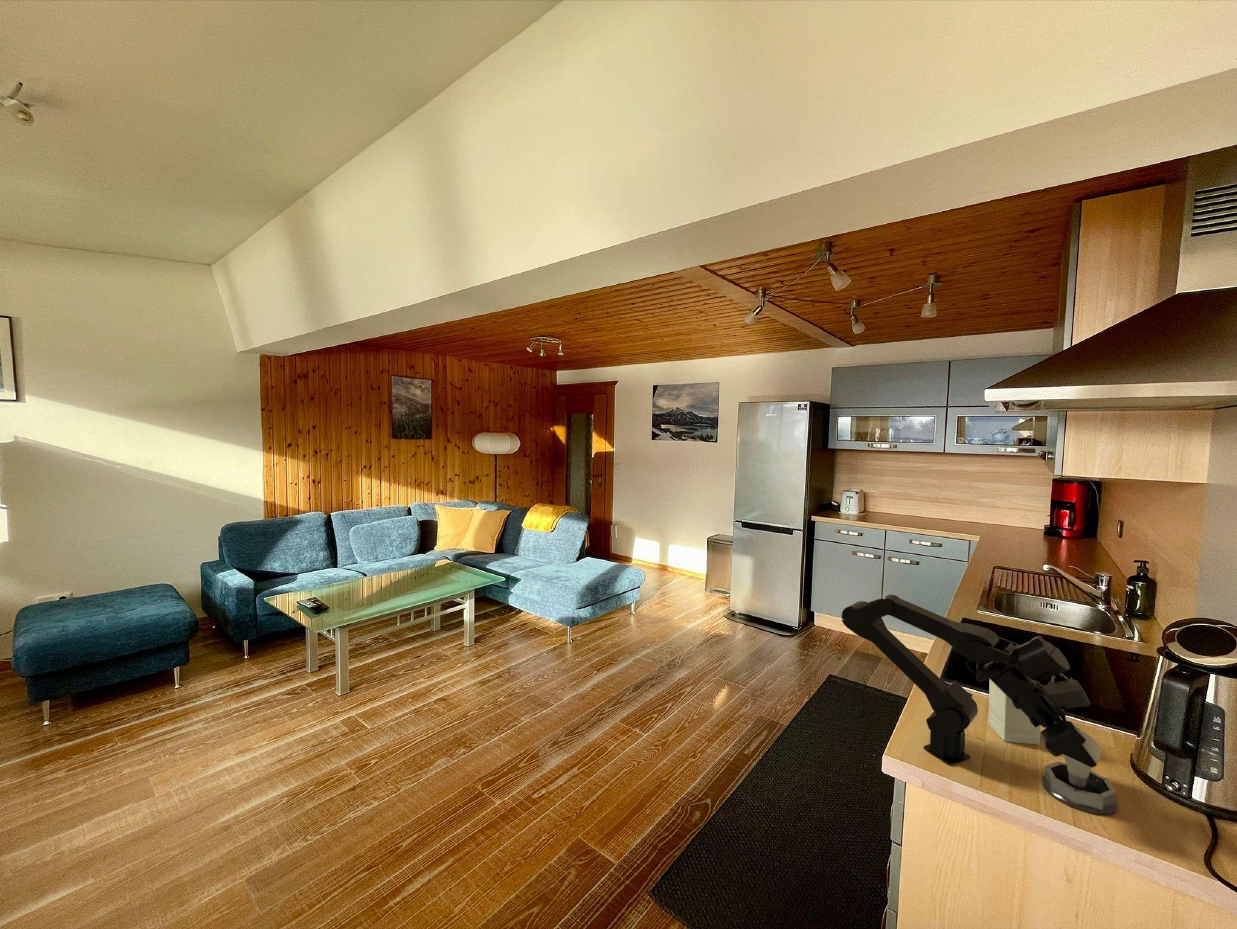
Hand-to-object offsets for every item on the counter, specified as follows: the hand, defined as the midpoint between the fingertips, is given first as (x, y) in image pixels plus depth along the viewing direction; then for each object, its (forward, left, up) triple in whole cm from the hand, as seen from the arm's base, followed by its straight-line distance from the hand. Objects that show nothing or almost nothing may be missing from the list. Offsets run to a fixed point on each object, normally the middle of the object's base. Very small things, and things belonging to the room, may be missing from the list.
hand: (1088, 756), depth 98 cm
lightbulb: (-1, +1, -7) cm, 7 cm away
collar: (-1, +1, -8) cm, 8 cm away
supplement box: (+8, +19, -8) cm, 22 cm away
